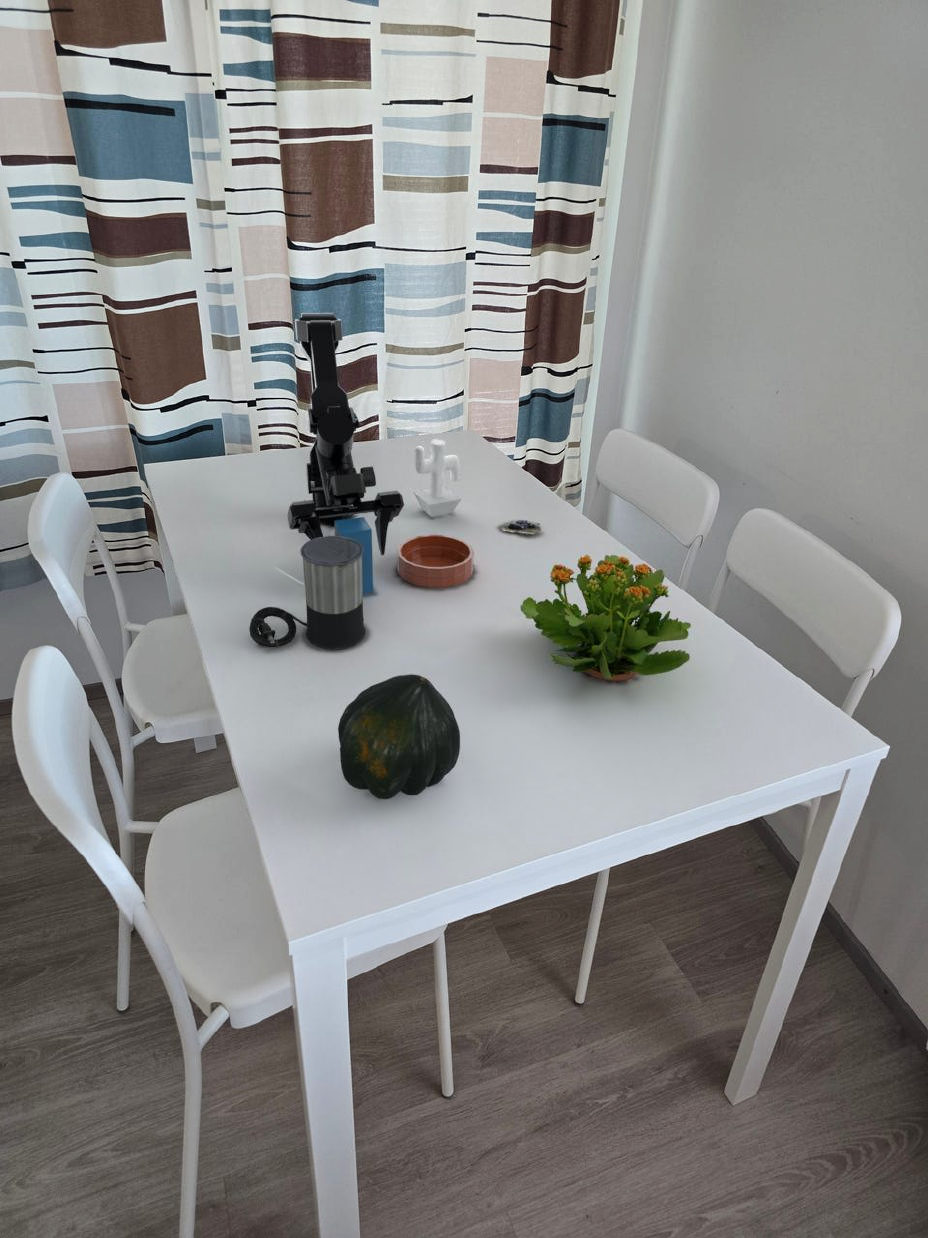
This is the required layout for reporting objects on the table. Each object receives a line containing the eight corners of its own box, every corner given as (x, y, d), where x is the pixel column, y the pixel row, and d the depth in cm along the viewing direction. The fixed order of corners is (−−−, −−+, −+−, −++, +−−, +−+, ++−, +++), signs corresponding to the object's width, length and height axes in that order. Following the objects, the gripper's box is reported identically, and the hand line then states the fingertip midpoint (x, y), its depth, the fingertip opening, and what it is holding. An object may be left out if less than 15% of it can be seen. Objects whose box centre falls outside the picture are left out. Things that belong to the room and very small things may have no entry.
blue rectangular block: (337, 584, 146) (334, 520, 140) (365, 580, 148) (363, 516, 142) (344, 598, 142) (341, 532, 136) (373, 594, 144) (371, 529, 138)
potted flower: (660, 618, 140) (677, 520, 131) (728, 703, 120) (753, 595, 111) (512, 631, 135) (520, 530, 126) (558, 723, 115) (571, 611, 106)
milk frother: (378, 635, 133) (376, 549, 125) (296, 676, 123) (289, 585, 115) (320, 602, 141) (315, 519, 133) (239, 637, 131) (228, 550, 123)
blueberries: (542, 538, 165) (542, 529, 164) (500, 536, 165) (501, 527, 164) (540, 523, 171) (540, 514, 170) (499, 521, 170) (500, 513, 170)
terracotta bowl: (382, 576, 149) (382, 556, 147) (423, 548, 159) (423, 528, 157) (448, 596, 144) (448, 575, 142) (485, 566, 154) (486, 546, 152)
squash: (294, 742, 102) (360, 691, 92) (370, 685, 113) (436, 635, 103) (365, 838, 102) (440, 797, 92) (434, 771, 113) (507, 729, 103)
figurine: (465, 515, 173) (468, 443, 165) (423, 522, 169) (424, 450, 161) (449, 502, 178) (451, 432, 170) (408, 509, 174) (408, 438, 167)
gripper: (285, 455, 133) (303, 549, 130) (400, 444, 139) (420, 534, 136) (280, 484, 144) (297, 571, 140) (387, 472, 149) (406, 556, 146)
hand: (355, 558), depth 141 cm, fingers open, 9 cm apart
